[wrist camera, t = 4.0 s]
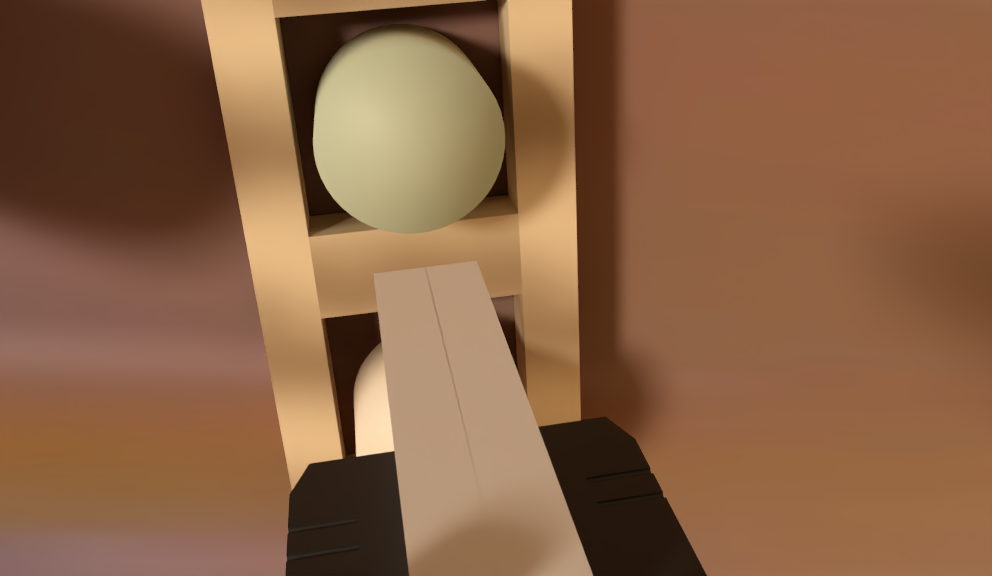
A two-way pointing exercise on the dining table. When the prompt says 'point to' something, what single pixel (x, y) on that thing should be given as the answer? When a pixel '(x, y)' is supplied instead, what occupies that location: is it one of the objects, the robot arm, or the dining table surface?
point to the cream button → (372, 407)
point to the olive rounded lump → (406, 130)
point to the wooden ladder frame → (367, 250)
